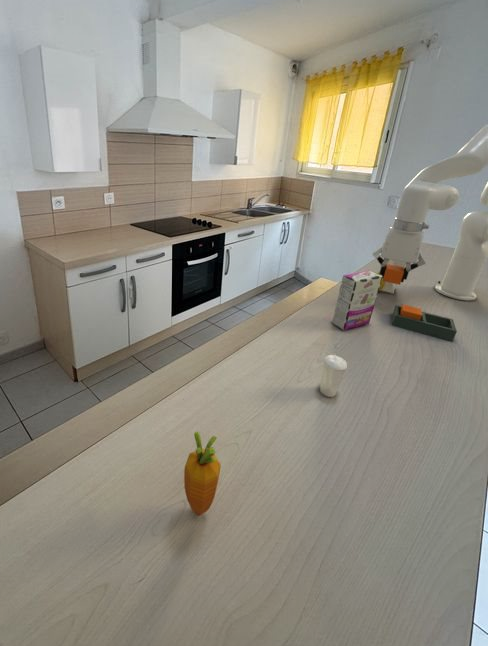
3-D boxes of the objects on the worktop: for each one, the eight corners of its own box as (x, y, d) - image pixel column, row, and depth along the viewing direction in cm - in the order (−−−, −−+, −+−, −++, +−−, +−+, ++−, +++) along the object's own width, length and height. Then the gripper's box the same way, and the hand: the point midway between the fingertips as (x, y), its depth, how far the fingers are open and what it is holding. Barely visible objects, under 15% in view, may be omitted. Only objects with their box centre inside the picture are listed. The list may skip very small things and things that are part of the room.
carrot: (180, 496, 50) (184, 425, 44) (212, 495, 50) (220, 424, 44) (182, 533, 45) (187, 459, 39) (217, 530, 46) (227, 457, 40)
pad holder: (392, 314, 107) (395, 305, 105) (448, 328, 100) (453, 319, 98) (392, 325, 100) (395, 315, 99) (452, 341, 93) (456, 331, 92)
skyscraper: (398, 289, 126) (422, 218, 115) (398, 296, 119) (423, 222, 108) (374, 283, 130) (395, 214, 119) (372, 290, 123) (394, 218, 112)
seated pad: (398, 316, 105) (402, 304, 103) (416, 321, 102) (421, 308, 100) (398, 323, 101) (402, 310, 99) (417, 328, 98) (422, 315, 96)
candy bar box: (355, 316, 104) (369, 269, 98) (369, 324, 100) (384, 276, 94) (330, 322, 100) (342, 274, 93) (343, 331, 96) (357, 281, 89)
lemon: (377, 289, 125) (383, 270, 122) (384, 295, 120) (390, 276, 116) (363, 288, 125) (368, 269, 122) (369, 294, 120) (374, 274, 117)
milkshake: (337, 385, 74) (347, 349, 70) (339, 401, 69) (350, 364, 66) (316, 380, 75) (325, 344, 72) (316, 396, 71) (326, 359, 67)
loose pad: (383, 275, 111) (386, 263, 109) (400, 279, 109) (403, 267, 107) (382, 281, 107) (386, 268, 105) (400, 284, 105) (403, 272, 103)
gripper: (440, 227, 99) (421, 281, 106) (377, 219, 107) (364, 269, 114) (442, 233, 93) (423, 289, 100) (376, 224, 101) (362, 276, 108)
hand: (392, 278), depth 107 cm, fingers closed on loose pad, 5 cm apart
